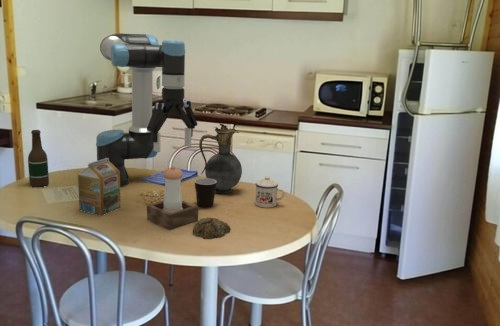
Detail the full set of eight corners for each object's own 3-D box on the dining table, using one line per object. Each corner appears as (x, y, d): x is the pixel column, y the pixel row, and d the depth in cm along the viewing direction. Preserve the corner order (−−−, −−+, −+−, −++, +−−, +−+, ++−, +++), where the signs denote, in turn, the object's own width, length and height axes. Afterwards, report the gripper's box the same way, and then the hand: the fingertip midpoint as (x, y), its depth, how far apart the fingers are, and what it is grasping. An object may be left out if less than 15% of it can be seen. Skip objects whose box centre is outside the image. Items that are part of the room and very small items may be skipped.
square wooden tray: (147, 219, 174) (146, 205, 172) (175, 211, 183) (175, 197, 182) (169, 230, 165) (169, 215, 164) (198, 221, 175) (198, 206, 173)
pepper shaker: (186, 219, 173) (187, 167, 168) (167, 222, 169) (167, 170, 164) (177, 212, 179) (177, 163, 174) (159, 216, 175) (159, 165, 170)
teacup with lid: (252, 206, 192) (253, 178, 189) (257, 199, 201) (258, 172, 198) (281, 210, 190) (283, 182, 187) (285, 203, 198) (287, 175, 195)
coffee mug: (212, 210, 186) (213, 185, 184) (191, 207, 188) (191, 183, 185) (220, 200, 197) (221, 177, 195) (200, 198, 199) (200, 175, 196)
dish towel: (199, 176, 232) (199, 170, 231) (169, 188, 212) (169, 182, 211) (171, 170, 240) (171, 165, 239) (139, 181, 219) (139, 176, 219)
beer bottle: (36, 182, 210) (32, 128, 204) (52, 183, 209) (49, 129, 203) (25, 187, 203) (21, 131, 197) (43, 188, 202) (39, 132, 196)
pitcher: (237, 197, 202) (239, 127, 195) (194, 192, 207) (195, 123, 199) (243, 189, 213) (246, 123, 205) (202, 185, 217) (204, 119, 209)
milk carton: (99, 202, 189) (98, 155, 184) (120, 207, 184) (119, 159, 180) (79, 210, 180) (77, 161, 175) (101, 216, 175) (99, 165, 170)
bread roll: (202, 223, 174) (203, 210, 172) (234, 229, 169) (234, 216, 168) (185, 235, 162) (185, 221, 161) (217, 242, 158) (218, 228, 156)
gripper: (149, 90, 151) (149, 156, 156) (208, 86, 169) (206, 145, 174) (135, 87, 155) (136, 151, 161) (193, 84, 173) (193, 142, 179)
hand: (172, 148), depth 167 cm, fingers open, 13 cm apart
